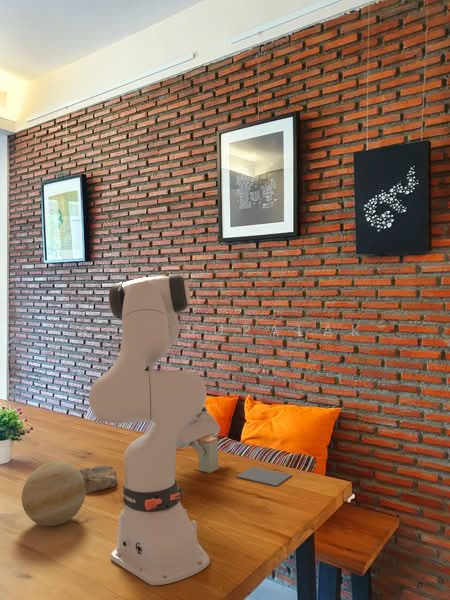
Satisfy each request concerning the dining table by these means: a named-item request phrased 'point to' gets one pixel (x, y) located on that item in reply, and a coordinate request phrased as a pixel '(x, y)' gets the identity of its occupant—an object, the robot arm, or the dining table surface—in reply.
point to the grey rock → (99, 478)
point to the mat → (264, 476)
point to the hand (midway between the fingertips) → (209, 451)
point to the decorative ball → (53, 493)
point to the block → (208, 454)
